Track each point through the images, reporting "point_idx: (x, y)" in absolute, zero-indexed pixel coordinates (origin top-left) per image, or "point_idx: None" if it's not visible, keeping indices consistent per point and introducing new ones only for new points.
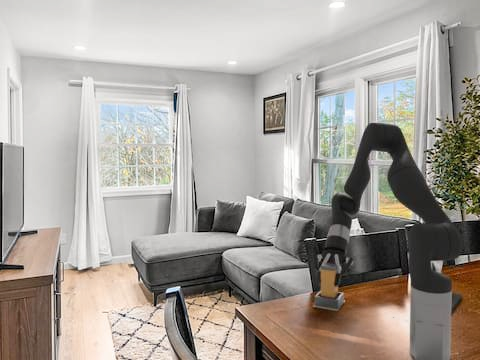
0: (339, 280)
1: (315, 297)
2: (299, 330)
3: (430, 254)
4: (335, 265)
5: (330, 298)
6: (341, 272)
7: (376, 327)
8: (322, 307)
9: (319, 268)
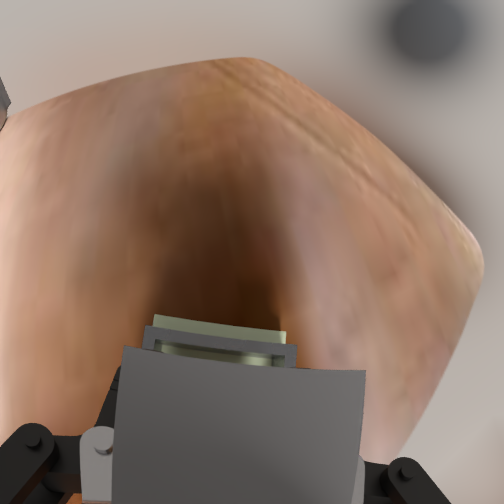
0: (113, 389)
1: (289, 344)
2: (276, 141)
3: None
4: (131, 484)
5: (194, 341)
6: (78, 451)
7: (22, 232)
8: (236, 335)
9: (365, 487)
